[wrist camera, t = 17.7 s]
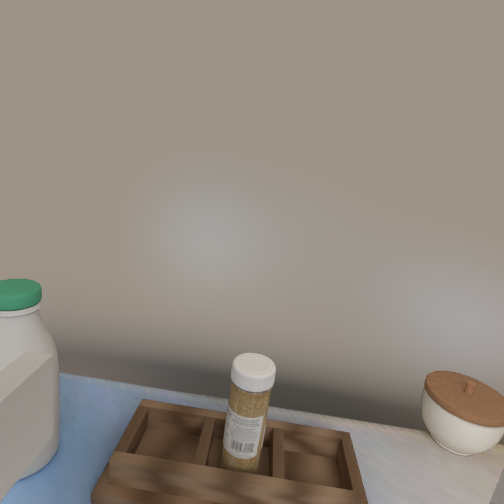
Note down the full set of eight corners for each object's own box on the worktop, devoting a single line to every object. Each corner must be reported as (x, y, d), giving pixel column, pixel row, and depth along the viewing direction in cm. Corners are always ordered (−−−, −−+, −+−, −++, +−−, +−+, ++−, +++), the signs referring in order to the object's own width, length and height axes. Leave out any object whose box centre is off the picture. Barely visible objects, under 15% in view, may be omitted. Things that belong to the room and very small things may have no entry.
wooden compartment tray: (349, 453, 47) (356, 426, 46) (373, 551, 36) (383, 518, 34) (135, 418, 48) (137, 390, 47) (91, 503, 36) (91, 469, 35)
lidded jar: (512, 460, 50) (536, 402, 48) (459, 479, 46) (482, 416, 43) (445, 408, 59) (462, 357, 57) (396, 419, 55) (412, 364, 52)
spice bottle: (264, 461, 43) (282, 359, 39) (248, 491, 38) (267, 381, 35) (229, 445, 44) (243, 346, 41) (210, 473, 40) (225, 365, 36)
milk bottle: (74, 445, 42) (76, 285, 37) (8, 498, 35) (-1, 310, 30) (28, 419, 45) (24, 266, 40) (-42, 464, 38) (-58, 286, 33)
